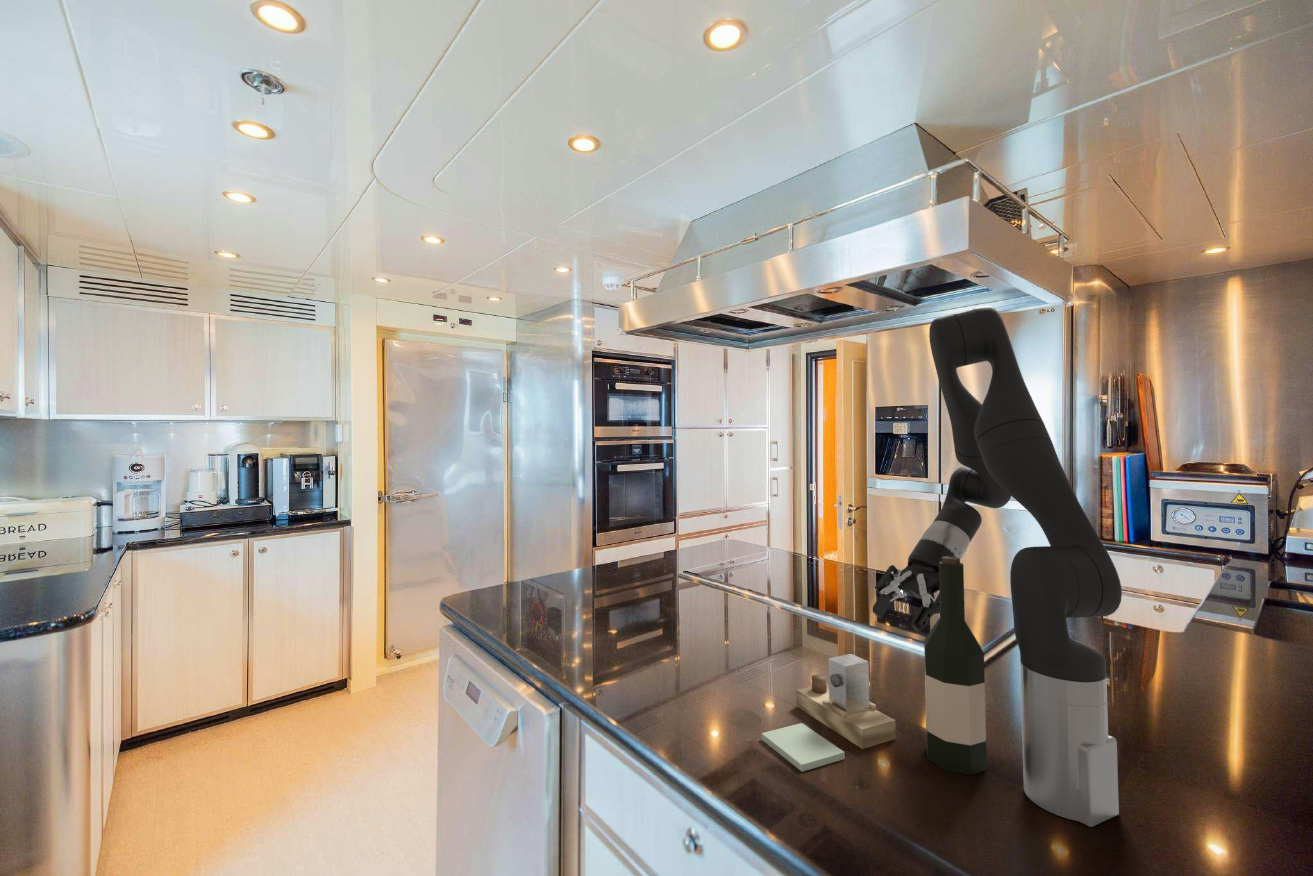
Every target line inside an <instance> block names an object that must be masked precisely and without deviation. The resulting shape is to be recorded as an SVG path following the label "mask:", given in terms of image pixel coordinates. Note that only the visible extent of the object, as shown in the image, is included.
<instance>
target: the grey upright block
mask: <svg viewBox="0 0 1313 876" xmlns="http://www.w3.org/2000/svg"><path fill="white" fill-rule="evenodd" d="M869 663H870V662H869V661H868V660H866V659H863V658H862V657H859V656H857V655H855V654H852V653H848V654H843V655H839V656H833V657H829V658H828V684H829V703H831V704H833V705H834V706H836V707H838V708H840V709H841V710H843V711H845V712H846V713H847V715H851V714H855V713H859V712H863V711H867V710H869V701H870V675H869V674H870V673H869V669H870V668H869Z"/></svg>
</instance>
